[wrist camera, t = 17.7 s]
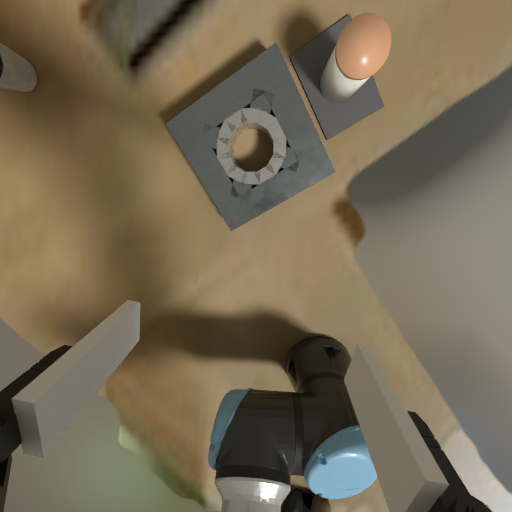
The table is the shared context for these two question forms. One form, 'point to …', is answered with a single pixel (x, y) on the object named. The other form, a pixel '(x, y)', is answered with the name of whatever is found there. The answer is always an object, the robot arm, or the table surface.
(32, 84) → the house plant
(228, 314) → the table surface
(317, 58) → the rubber mat
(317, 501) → the brown piece
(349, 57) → the capped white peg
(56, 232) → the table surface
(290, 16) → the table surface
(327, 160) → the housing
